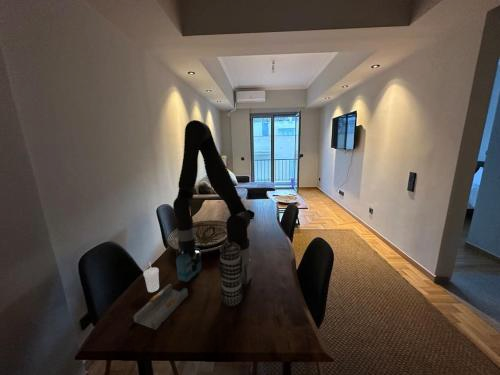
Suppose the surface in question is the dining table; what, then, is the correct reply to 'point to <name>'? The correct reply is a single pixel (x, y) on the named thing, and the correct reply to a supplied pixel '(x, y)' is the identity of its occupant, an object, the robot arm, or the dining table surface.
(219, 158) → the robot arm
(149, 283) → the beverage cup
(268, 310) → the dining table surface
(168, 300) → the grey tray
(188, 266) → the data package
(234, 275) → the leaning tower model
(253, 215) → the battery charger
